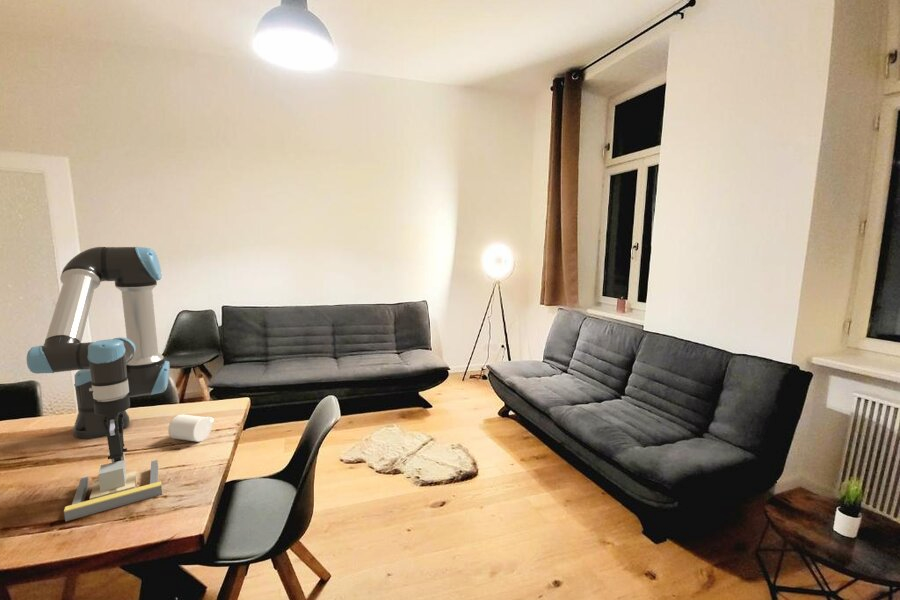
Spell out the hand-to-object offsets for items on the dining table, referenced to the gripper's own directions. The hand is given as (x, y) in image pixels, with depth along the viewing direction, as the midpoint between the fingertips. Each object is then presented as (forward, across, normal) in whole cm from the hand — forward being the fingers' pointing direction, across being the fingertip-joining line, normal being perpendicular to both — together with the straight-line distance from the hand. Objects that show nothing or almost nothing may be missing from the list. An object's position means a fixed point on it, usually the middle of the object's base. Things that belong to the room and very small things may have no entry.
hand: (120, 476), depth 112 cm
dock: (+2, +4, 0) cm, 4 cm away
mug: (+2, -20, +19) cm, 28 cm away
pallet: (+2, +5, -1) cm, 6 cm away
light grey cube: (-1, +5, -1) cm, 6 cm away
